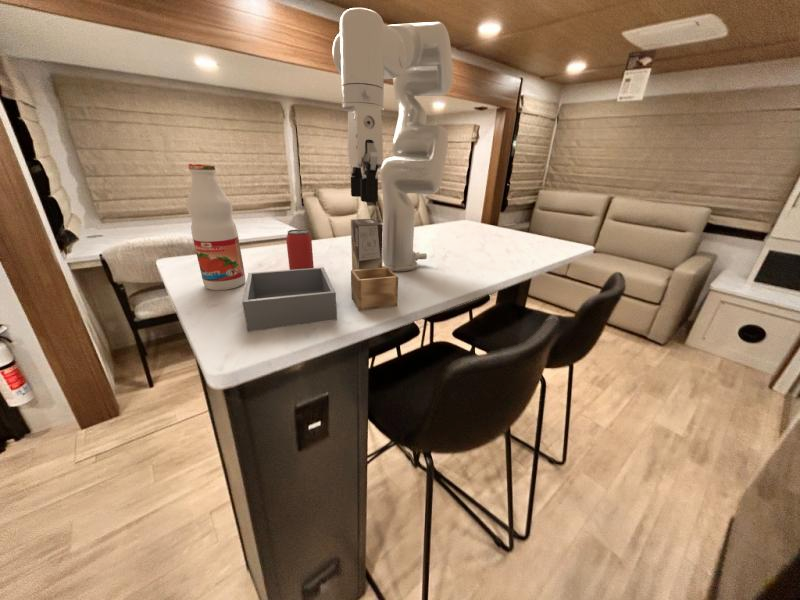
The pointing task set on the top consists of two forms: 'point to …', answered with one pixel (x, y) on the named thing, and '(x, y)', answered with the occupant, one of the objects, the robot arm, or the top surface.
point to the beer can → (299, 249)
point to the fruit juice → (214, 231)
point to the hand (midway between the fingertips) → (363, 198)
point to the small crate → (374, 288)
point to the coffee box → (366, 244)
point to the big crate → (288, 298)
